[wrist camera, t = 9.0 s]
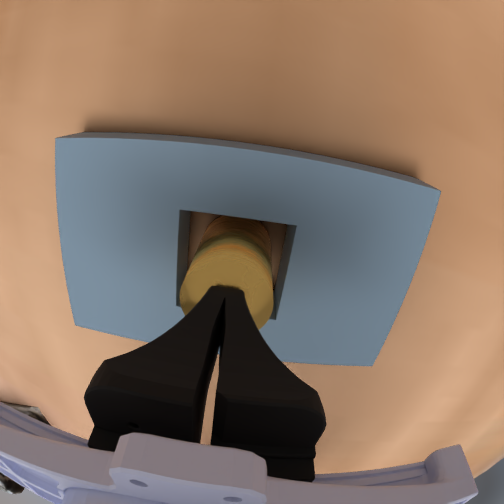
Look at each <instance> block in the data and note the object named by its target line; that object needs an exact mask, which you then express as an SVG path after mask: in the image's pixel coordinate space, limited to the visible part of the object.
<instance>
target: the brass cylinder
mask: <svg viewBox="0 0 504 504" xmlns="http://www.w3.org/2000/svg"><path fill="white" fill-rule="evenodd" d="M212 285H213V286H220V287H227V288H234V289H242V290H243V291H244V294H245V299H246V302H247V305H248V308H249V311H250V313H251V315H252V318H253V320H254V322H255V324H256V326H257V328H258V330H259V329H261V328H262V327H263V326H264V325H265V324H266V323H267V321H268V320H269V318H270V316H271V314H272V310H273V283H272V264H271V246H270V237H269V234H268V232H267V230H266V229H265V227H264V226H263V225H262V224H261V223H260V222H259V221H258V220H255V219H248V218H241V217H234V216H226V215H222V216H220V217H218V218H216V219H215V220H214V221H213V222H211V224H210V225H209V226H208V228H207V229H206V231H205V233H204V236H203V238H202V240H201V242H200V245H199V247H198V249H197V251H196V254H195V256H194V258H193V260H192V263H191V265H190V267H189V270H188V272H187V274H186V277H185V279H184V281H183V284H182V286H181V290H180V304H181V308H182V311H183V313H184V314H185V315H187V314H188V313H189V312H190V311H191V310H192V309H193V307H194V306H195V305H196V304H197V303H198V302H199V301H200V300H201V298H202V297H203V296H204V295H205V293H206V292H207V290H208V289H209V287H211V286H212Z"/></svg>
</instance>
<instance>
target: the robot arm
mask: <svg viewBox="0 0 504 504" xmlns="http://www.w3.org/2000/svg"><path fill="white" fill-rule="evenodd" d="M219 347H220V350H219ZM218 351H219V377H218V383H217V389H216V398H215V407H214V417H213V427H212V436H211V444H210V445H205V444H200V440H201V433H202V425H203V418H204V411H205V405H206V398H207V393H208V388H209V384H210V381H211V377H212V373H213V369H214V366H215V362H216V358H217V354H218ZM84 400H85V404H86V406H87V409H88V411H89V414H90V416H91V418H92V420H93V423H94V425H95V426H94V428H93V431H92V433H91V436H90V438H89V440H86V439H84V438H81V437H78V436H75V435H73V434H70V433H67V432H65V431H62V430H60V429H57V428H55V427H52V426H50V425H48V424H45V423H43V422H41V421H39V420H36V419H34V418H32V417H30V416H28V415H26V414H23V413H21V412H19V411H17V410H15V409H13V408H11V407H10V406H8V405H6V404H4V403H2V402H0V472H1V473H3V474H4V475H6V476H7V477H9V478H10V479H12V480H13V481H15V482H17V483H18V484H20V485H21V486H23V487H25V488H27V489H28V490H30V491H32V492H33V493H35V494H37V495H39V496H41V497H42V498H44V499H46V500H48V501H50V502H52V503H54V504H464V503H465V502H467V501H468V500H470V499H471V498H473V497H474V496H476V495H477V494H478V490H477V487H476V484H475V482H474V478H473V476H472V473H471V470H470V468H469V465H468V462H467V460H466V457H465V455H464V452H463V450H462V447H461V445H459V444H458V445H454V446H450V447H446V448H442V449H439V450H436V451H435V452H433V453H432V454H430V455H429V456H428V457H427V458H426V459H425V461H423V462H418V463H413V464H407V465H402V466H396V467H390V468H383V469H375V470H367V471H358V472H346V473H332V474H315V471H314V461H313V459H314V458H315V456H316V452H315V445H316V443H317V442H318V440H319V438H320V437H321V435H322V433H323V432H324V430H325V427H326V417H325V412H324V409H323V406H322V403H321V400H320V397H319V395H318V392H317V391H316V390H314V389H313V388H311V387H310V386H309V385H307V384H306V383H305V382H303V381H302V380H300V379H299V378H298V377H297V376H296V375H295V374H293V373H292V372H291V371H290V370H289V369H288V368H287V367H286V366H285V365H284V364H283V363H282V362H281V361H280V360H279V359H278V357H277V356H276V355H275V354H274V352H273V351H272V350H271V348H270V347H269V346H268V344H267V343H266V341H265V340H264V338H263V337H262V335H261V333H260V331H259V330H258V328H257V326H256V324H255V322H254V320H253V318H252V315H251V313H250V311H249V308H248V305H247V302H246V299H245V294H244V291H243V290H242V289H234V288H227V287H220V286H213V285H212V286H211V287H209V289H208V290H207V292H206V293H205V295H204V296H203V297H202V298H201V300H200V301H199V302H198V303H197V304H196V305H195V306H194V307H193V309H192V310H191V311H190V312H189V313H188V314H187V315H185V316H184V317H183V318H182V319H181V320H180V321H179V322H178V323H177V324H175V325H174V326H173V327H172V328H170V329H169V330H168V331H166V332H165V333H164V334H162V335H161V336H159V337H157V338H156V339H154V340H153V341H151V342H149V343H148V344H146V345H144V346H142V347H140V348H137V349H135V350H133V351H131V352H128V353H125V354H123V355H120V356H117V357H114V358H111V359H107V360H104V361H103V363H102V364H101V366H100V367H99V368H98V370H97V371H96V373H95V374H94V376H93V378H92V380H91V382H90V384H89V386H88V388H87V390H86V392H85V395H84Z"/></svg>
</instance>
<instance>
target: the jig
mask: <svg viewBox="0 0 504 504" xmlns="http://www.w3.org/2000/svg"><path fill="white" fill-rule="evenodd" d="M55 174H56V198H57V213H58V224H59V234H60V243H61V251H62V258H63V265H64V271H65V277H66V283H67V289H68V294H69V299H70V304H71V309H72V313H73V318H74V322H75V325H77V326H80V327H84V328H88V329H92V330H96V331H100V332H104V333H108V334H113V335H117V336H121V337H126V338H130V339H135V340H140V341H145V342H151V341H153V340H154V339H156V338H157V337H159V336H161V335H162V334H164V333H165V332H166V331H168V330H169V329H170V328H172V327H173V326H174V325H175V324H177V323H178V322H179V321H180V320H181V319H182V318H183V317H184V316H185V314H184V313H183V311H182V308H181V304H180V290H181V286H182V284H183V281H184V279H185V277H186V274H187V262H188V244H189V229H190V215H191V211H196V212H204V213H211V214H219V215H226V216H234V217H241V218H248V219H255V220H262V221H269V222H276V223H283V224H288V225H287V231H286V236H285V241H284V246H283V251H282V256H281V261H280V265H279V270H278V275H277V280H276V285H275V290H274V291H273V310H272V314H271V316H270V318H269V320H268V321H267V323H266V324H265V325H264V326H263V327H262V328H261V329H259V331H260V333H261V335H262V337H263V338H264V340H265V341H266V343H267V344H268V346H269V347H270V348H271V350H272V351H273V352H274V354H275V355H276V356H277V357H278V359H279V360H280V361H283V362H295V363H308V364H324V365H346V366H373V364H374V362H375V360H376V358H377V356H378V354H379V352H380V350H381V348H382V346H383V344H384V342H385V340H386V338H387V336H388V334H389V331H390V329H391V327H392V325H393V323H394V321H395V318H396V316H397V314H398V312H399V309H400V307H401V305H402V302H403V300H404V298H405V295H406V293H407V290H408V288H409V286H410V283H411V281H412V278H413V275H414V273H415V270H416V268H417V265H418V262H419V259H420V257H421V254H422V251H423V248H424V245H425V242H426V239H427V237H428V233H429V230H430V227H431V224H432V221H433V218H434V214H435V211H436V208H437V204H438V201H439V197H440V194H441V191H440V190H438V189H436V188H434V187H433V186H431V185H429V184H427V183H425V182H423V181H421V180H419V179H417V178H414V177H411V176H407V175H404V174H400V173H396V172H392V171H388V170H385V169H381V168H377V167H372V166H368V165H364V164H360V163H355V162H351V161H347V160H342V159H337V158H332V157H328V156H323V155H317V154H312V153H307V152H301V151H296V150H290V149H284V148H278V147H272V146H265V145H258V144H251V143H244V142H236V141H228V140H219V139H210V138H200V137H189V136H177V135H163V134H145V133H119V132H82V133H77V134H72V135H67V136H63V137H58V138H56V140H55ZM219 350H220V347H219ZM218 354H219V351H218Z"/></svg>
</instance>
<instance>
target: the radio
mask: <svg viewBox="0 0 504 504" xmlns="http://www.w3.org/2000/svg"><path fill="white" fill-rule="evenodd" d="M2 403H4V402H2ZM4 404H6V405H8V406H10V407H11V408H13V409H15V410H17V411H19V412H21V413H23V414H26V415H28V416H30V417H32V418H34V419H36V420H39V421H41V422H43V423H45V424H48V425H50V424H49V423H48V421H47V420H46V418H45V417H44V416H43V415H42V414H41V412H40V409H39V408H38V407H31V406H24V405H17V404H10V403H4ZM50 426H51V425H50ZM24 488H25V487H23V486H21V485H20V484H18V483H17V482H15V481H13V480H12V479H10V478H9V477H7V476H6V475H4V474H3V473H1V472H0V490H2V491H5V492H7V493H11V494H19V493H21V492H22V491H23V490H24Z"/></svg>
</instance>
